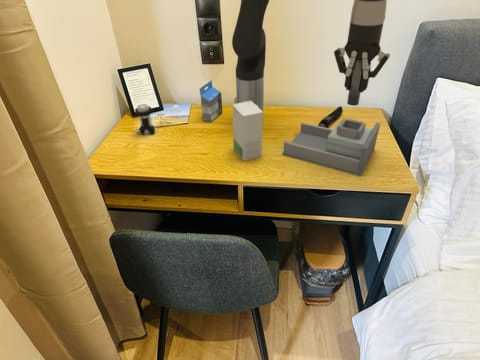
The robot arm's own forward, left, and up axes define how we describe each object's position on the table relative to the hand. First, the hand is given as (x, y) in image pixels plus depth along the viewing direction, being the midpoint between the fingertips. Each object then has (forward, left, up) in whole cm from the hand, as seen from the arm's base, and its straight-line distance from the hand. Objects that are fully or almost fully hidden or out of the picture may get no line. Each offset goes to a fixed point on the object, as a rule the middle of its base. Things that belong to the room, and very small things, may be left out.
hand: (355, 89), depth 91 cm
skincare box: (-27, -11, -22) cm, 36 cm away
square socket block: (+1, +1, -20) cm, 20 cm away
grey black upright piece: (-65, -16, -22) cm, 70 cm away
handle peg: (0, 0, -4) cm, 4 cm away
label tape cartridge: (-51, +5, -22) cm, 56 cm away
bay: (-5, +1, -21) cm, 22 cm away
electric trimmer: (-11, +21, -22) cm, 33 cm away
